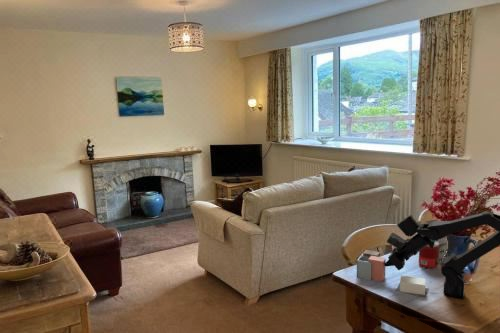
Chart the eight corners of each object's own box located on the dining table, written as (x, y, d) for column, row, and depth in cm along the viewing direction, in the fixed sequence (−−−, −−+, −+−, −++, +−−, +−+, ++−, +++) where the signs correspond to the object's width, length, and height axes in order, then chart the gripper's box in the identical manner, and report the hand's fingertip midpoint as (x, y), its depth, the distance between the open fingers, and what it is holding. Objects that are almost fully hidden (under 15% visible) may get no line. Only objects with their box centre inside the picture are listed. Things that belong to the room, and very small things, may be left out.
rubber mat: (429, 290, 159) (429, 288, 159) (425, 299, 152) (425, 297, 152) (399, 283, 165) (399, 282, 165) (395, 292, 158) (395, 290, 158)
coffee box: (448, 257, 189) (449, 224, 186) (436, 259, 187) (438, 226, 184) (434, 250, 197) (436, 219, 194) (423, 252, 196) (424, 220, 193)
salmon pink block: (385, 278, 170) (385, 258, 168) (382, 282, 166) (383, 261, 165) (370, 275, 173) (371, 255, 171) (368, 279, 170) (368, 259, 168)
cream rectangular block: (424, 288, 160) (425, 278, 159) (424, 295, 154) (425, 285, 153) (400, 284, 163) (400, 275, 162) (399, 291, 157) (400, 281, 157)
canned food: (439, 269, 177) (441, 245, 175) (420, 268, 178) (421, 245, 176) (435, 262, 184) (436, 239, 182) (417, 261, 186) (418, 238, 184)
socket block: (377, 270, 177) (378, 253, 176) (370, 280, 168) (371, 262, 167) (364, 268, 180) (364, 251, 179) (356, 277, 171) (356, 260, 170)
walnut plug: (379, 271, 176) (379, 252, 175) (376, 275, 173) (377, 255, 171) (365, 269, 179) (365, 249, 178) (362, 272, 176) (363, 253, 174)
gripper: (405, 222, 169) (377, 242, 176) (394, 235, 153) (365, 257, 161) (424, 243, 166) (395, 263, 174) (415, 259, 150) (384, 280, 158)
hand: (385, 265), depth 167 cm, fingers closed
